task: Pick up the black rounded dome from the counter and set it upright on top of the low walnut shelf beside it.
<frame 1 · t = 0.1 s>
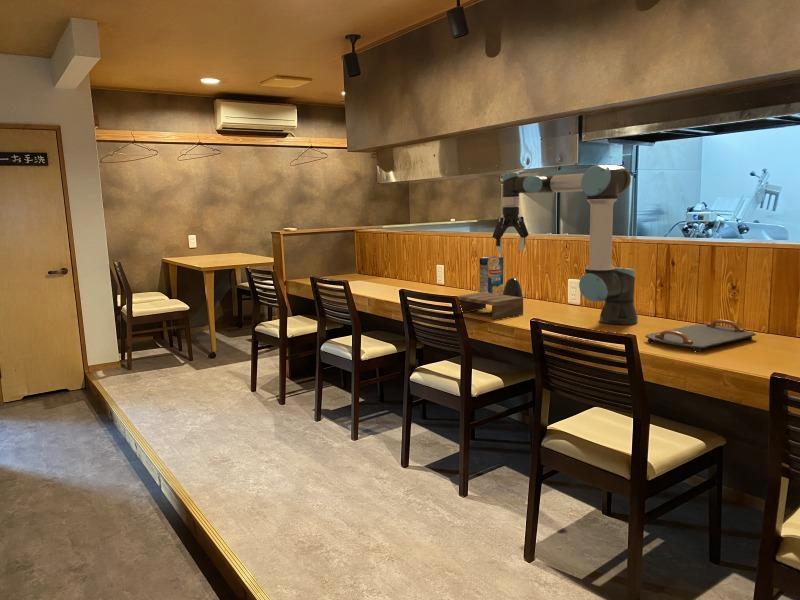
hand: (510, 252, 283), 28 cm above the counter, tool pointing down, fingers open, 13 cm apart
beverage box: (491, 298, 326), on the counter
serving board: (699, 342, 218), on the counter
walnut shelf: (488, 313, 281), on the counter
black rounded dome: (512, 309, 292), on the counter
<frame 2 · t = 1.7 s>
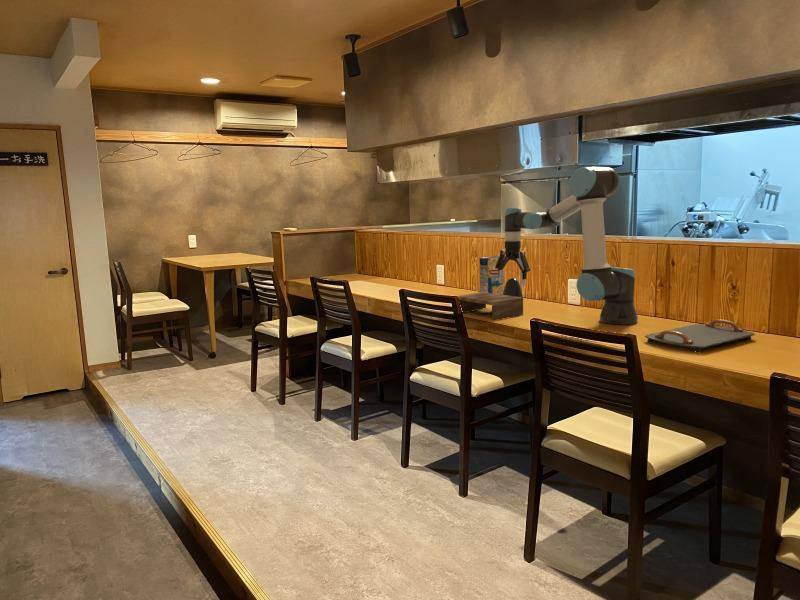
hand: (512, 284, 290), 12 cm above the counter, tool pointing down, fingers open, 13 cm apart
nothing on the counter moved.
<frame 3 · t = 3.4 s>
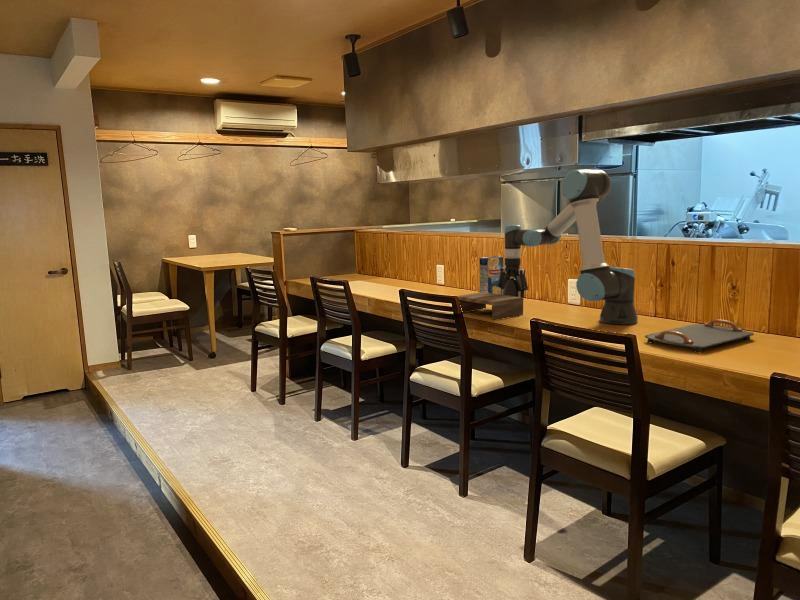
hand: (512, 303, 291), 3 cm above the counter, tool pointing down, fingers closed on black rounded dome, 10 cm apart
black rounded dome: (512, 309, 292), on the counter, touching gripper
everything else where it was.
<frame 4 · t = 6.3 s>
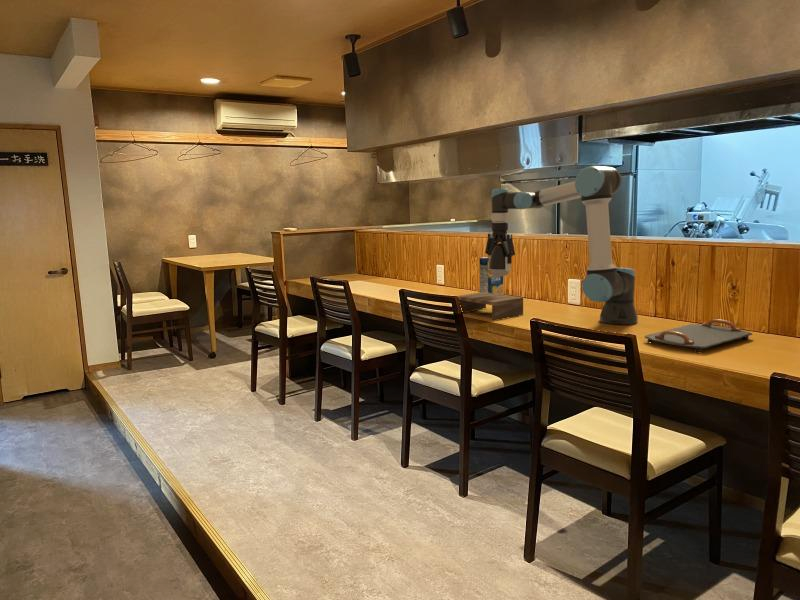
hand: (499, 269, 283), 20 cm above the counter, tool pointing down, fingers closed on black rounded dome, 10 cm apart
black rounded dome: (499, 276, 283), point 17 cm above the counter, touching gripper
everything else where it was.
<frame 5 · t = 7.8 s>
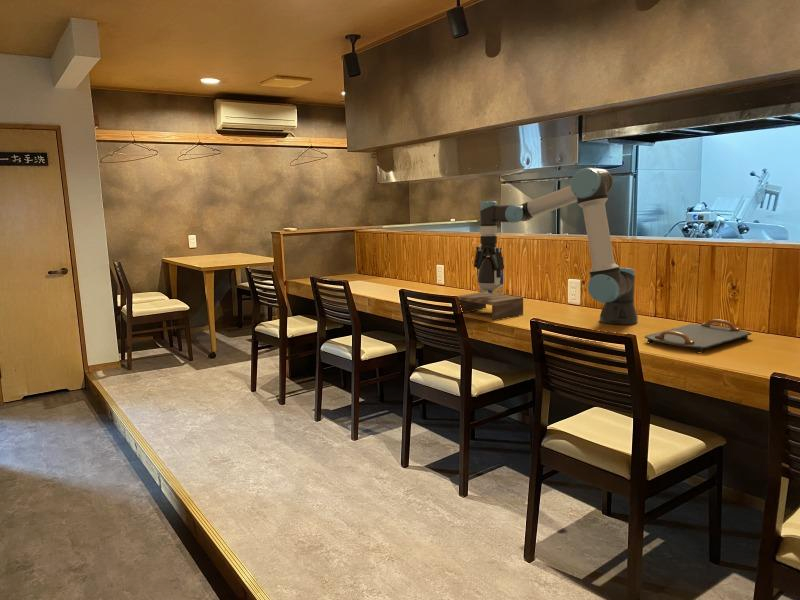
hand: (488, 283, 279), 14 cm above the counter, tool pointing down, fingers closed on black rounded dome, 10 cm apart
black rounded dome: (488, 289, 279), point 11 cm above the counter, touching gripper
when the fingers open (12 cm above the counter, at t = 9.1 s): black rounded dome drops 1 cm, resting on walnut shelf.
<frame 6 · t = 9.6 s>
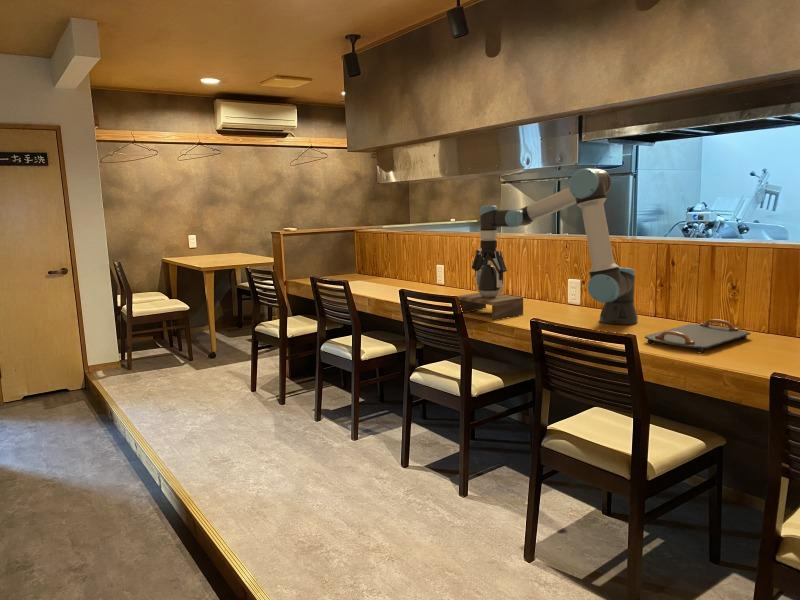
hand: (488, 285, 279), 13 cm above the counter, tool pointing down, fingers open, 13 cm apart
black rounded dome: (489, 297, 279), point 8 cm above the counter, touching walnut shelf
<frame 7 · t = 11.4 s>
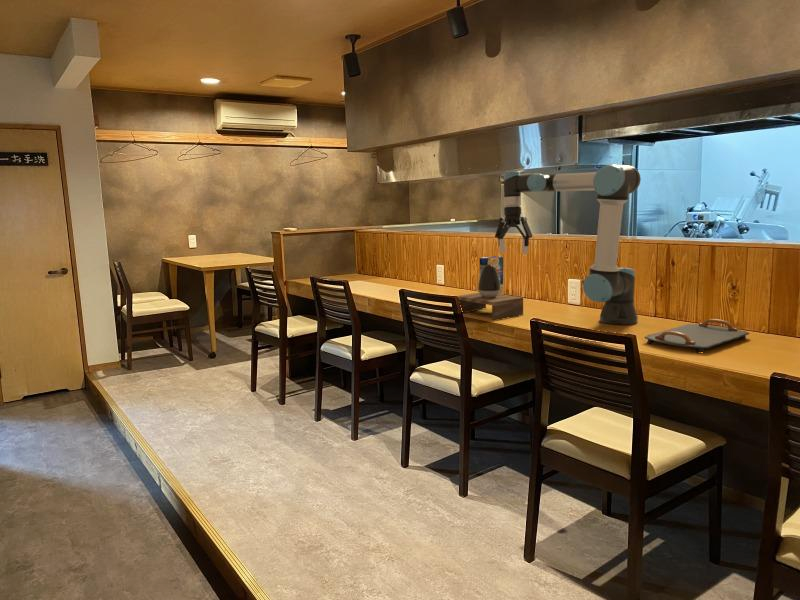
hand: (513, 253, 275), 28 cm above the counter, tool pointing down, fingers open, 13 cm apart
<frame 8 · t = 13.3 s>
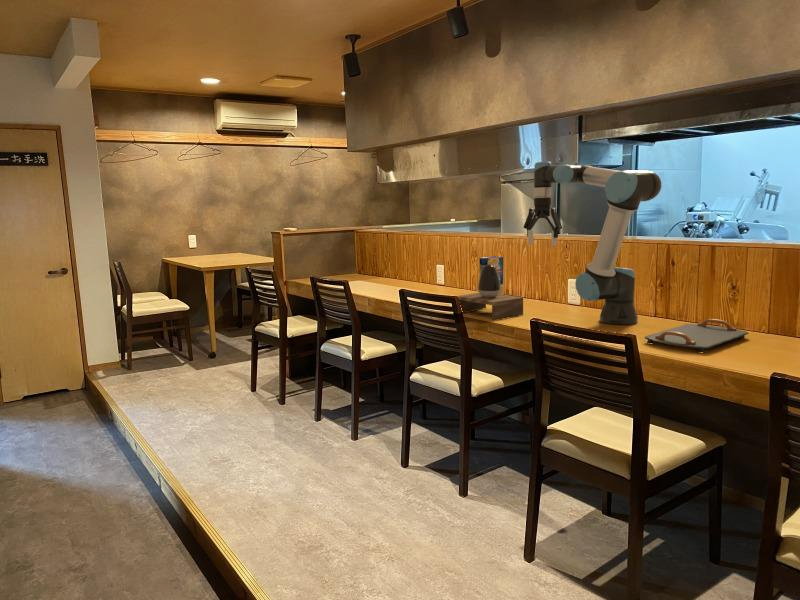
hand: (542, 244, 274), 32 cm above the counter, tool pointing down, fingers open, 13 cm apart
at the end: black rounded dome inside the target area on the walnut shelf (0.2 cm from its centre), point 7.8 cm above the walnut shelf's base; black rounded dome tilted 0°; the gripper is holding nothing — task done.
